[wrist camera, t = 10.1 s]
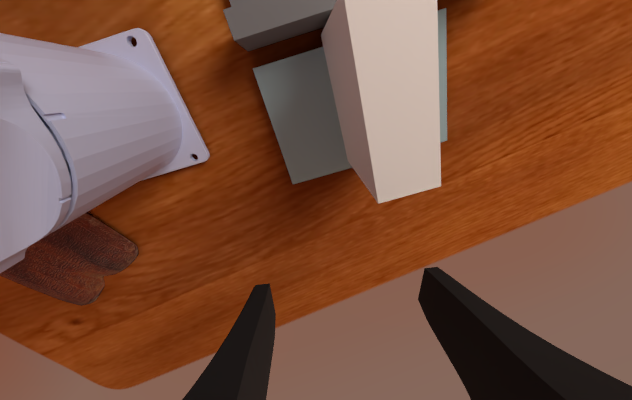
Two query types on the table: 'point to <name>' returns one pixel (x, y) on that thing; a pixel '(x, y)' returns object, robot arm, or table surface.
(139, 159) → the robot arm
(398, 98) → the white rectangular block
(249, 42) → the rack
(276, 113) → the mat
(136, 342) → the table surface
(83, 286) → the wooden tablet
